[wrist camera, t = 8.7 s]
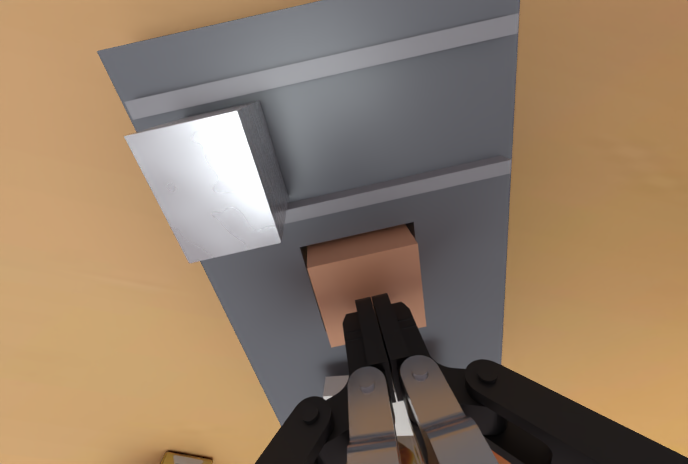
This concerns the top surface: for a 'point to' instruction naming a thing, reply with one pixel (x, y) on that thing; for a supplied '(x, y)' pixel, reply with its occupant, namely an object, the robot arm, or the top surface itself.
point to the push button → (365, 275)
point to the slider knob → (215, 180)
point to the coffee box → (408, 450)
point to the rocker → (401, 419)
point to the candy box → (183, 459)
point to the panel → (355, 160)
